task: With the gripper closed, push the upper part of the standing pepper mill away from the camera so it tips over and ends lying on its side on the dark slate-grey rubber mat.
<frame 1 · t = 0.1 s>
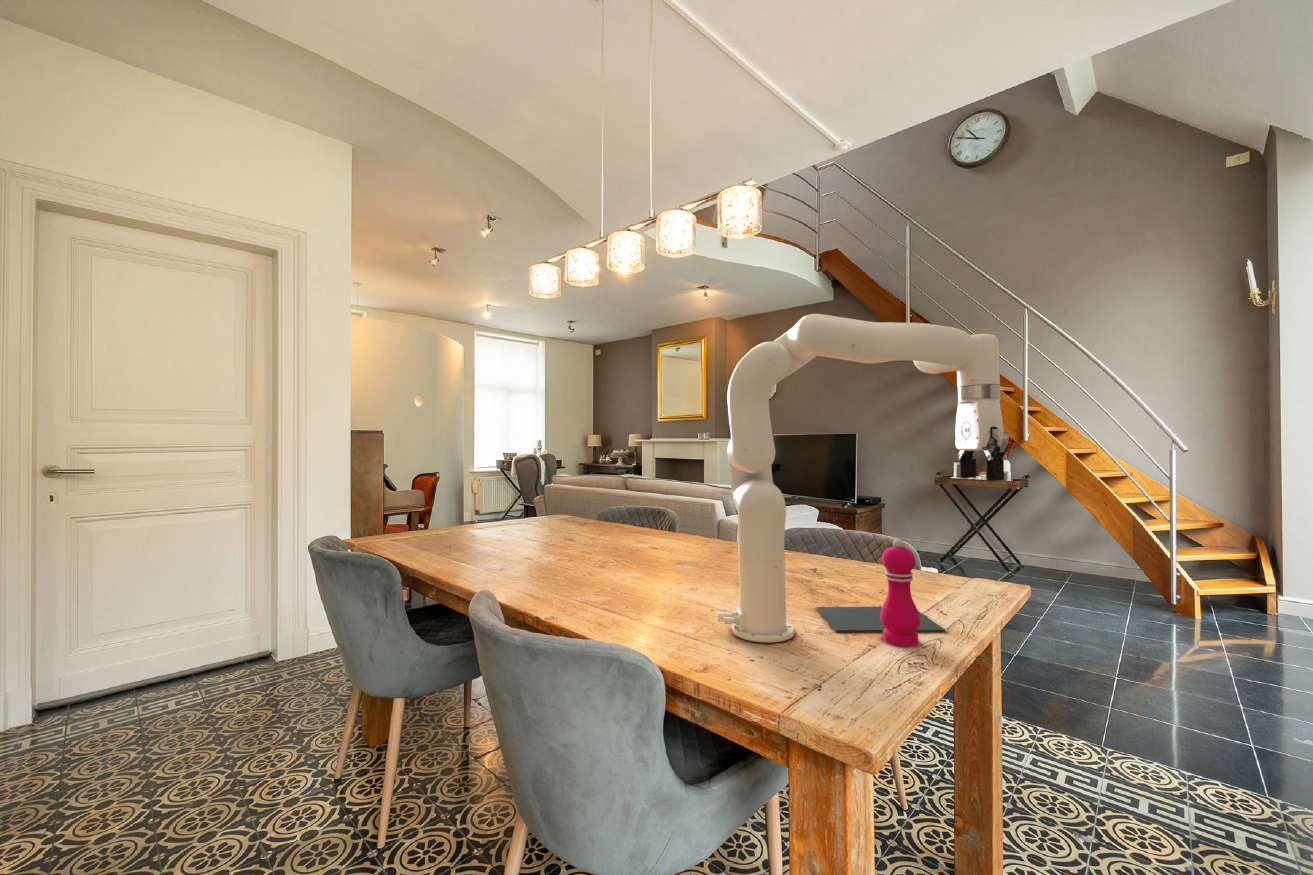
hand: (980, 478, 110), 31 cm above the table, tool pointing down, fingers open, 9 cm apart
mat: (876, 619, 118), on the table
pepper mill: (900, 642, 105), on the table
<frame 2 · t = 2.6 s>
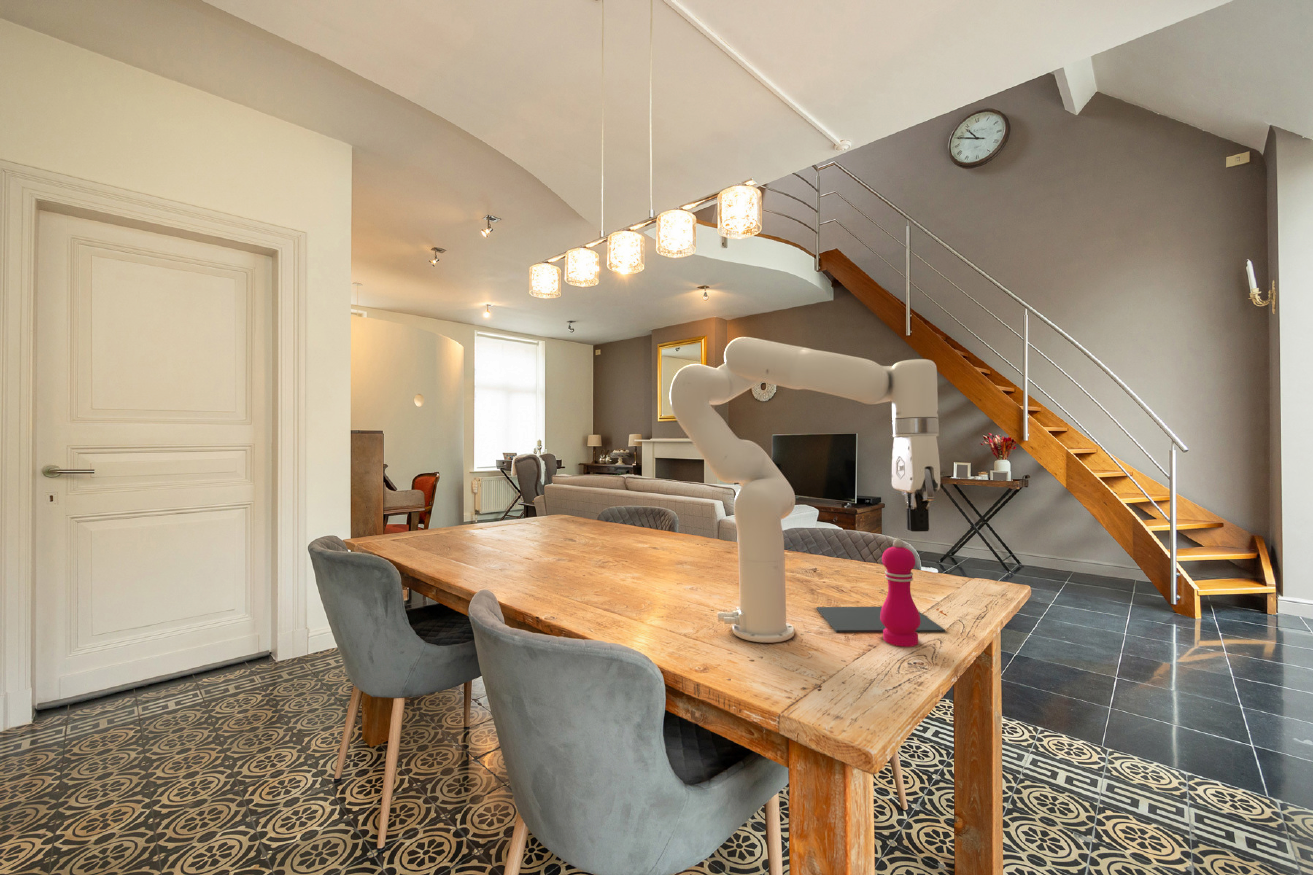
hand: (917, 530, 96), 23 cm above the table, tool pointing down, fingers closed
nothing on the table moved.
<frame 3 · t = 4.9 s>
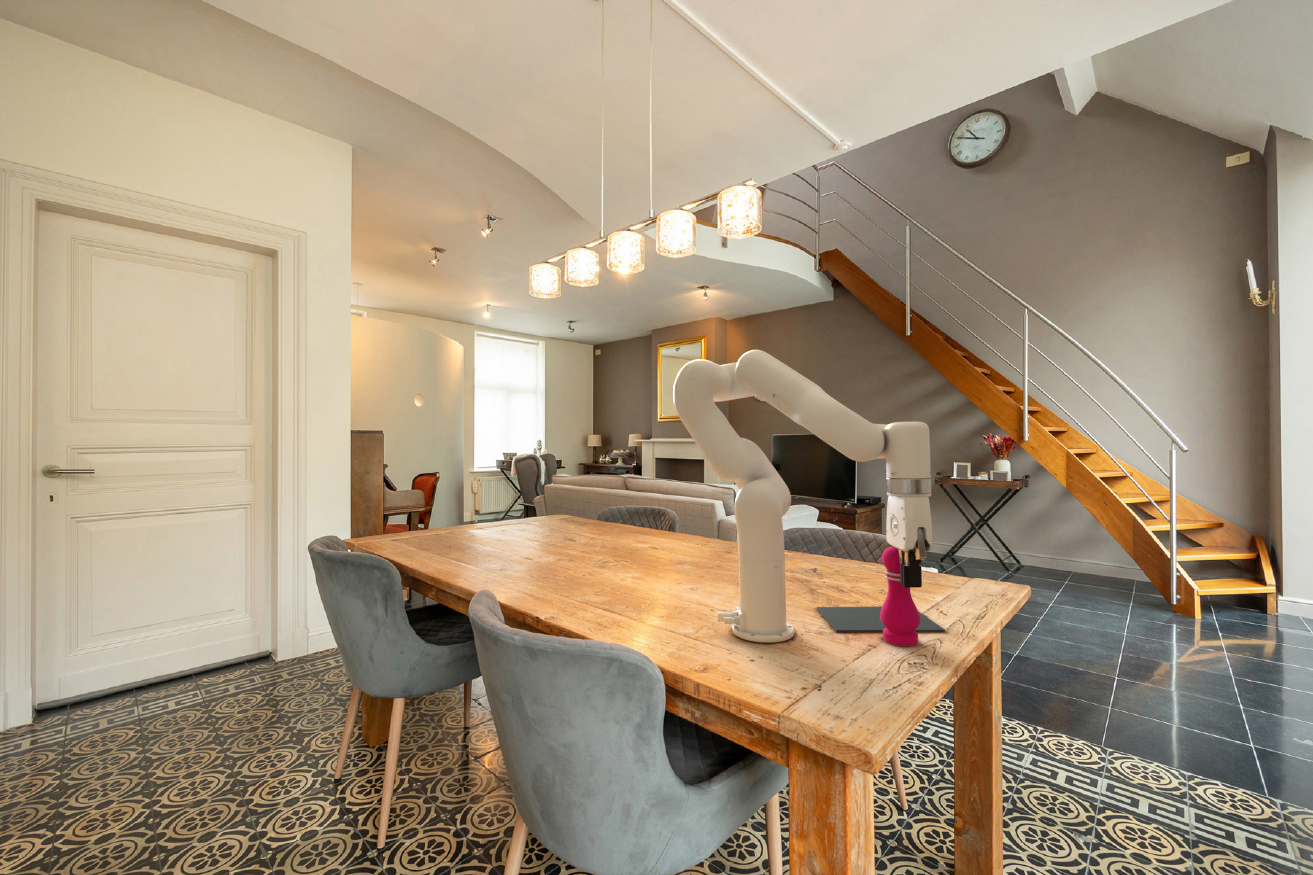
hand: (911, 586, 100), 12 cm above the table, tool pointing down, fingers closed
pepper mill: (900, 641, 105), on the table, touching gripper
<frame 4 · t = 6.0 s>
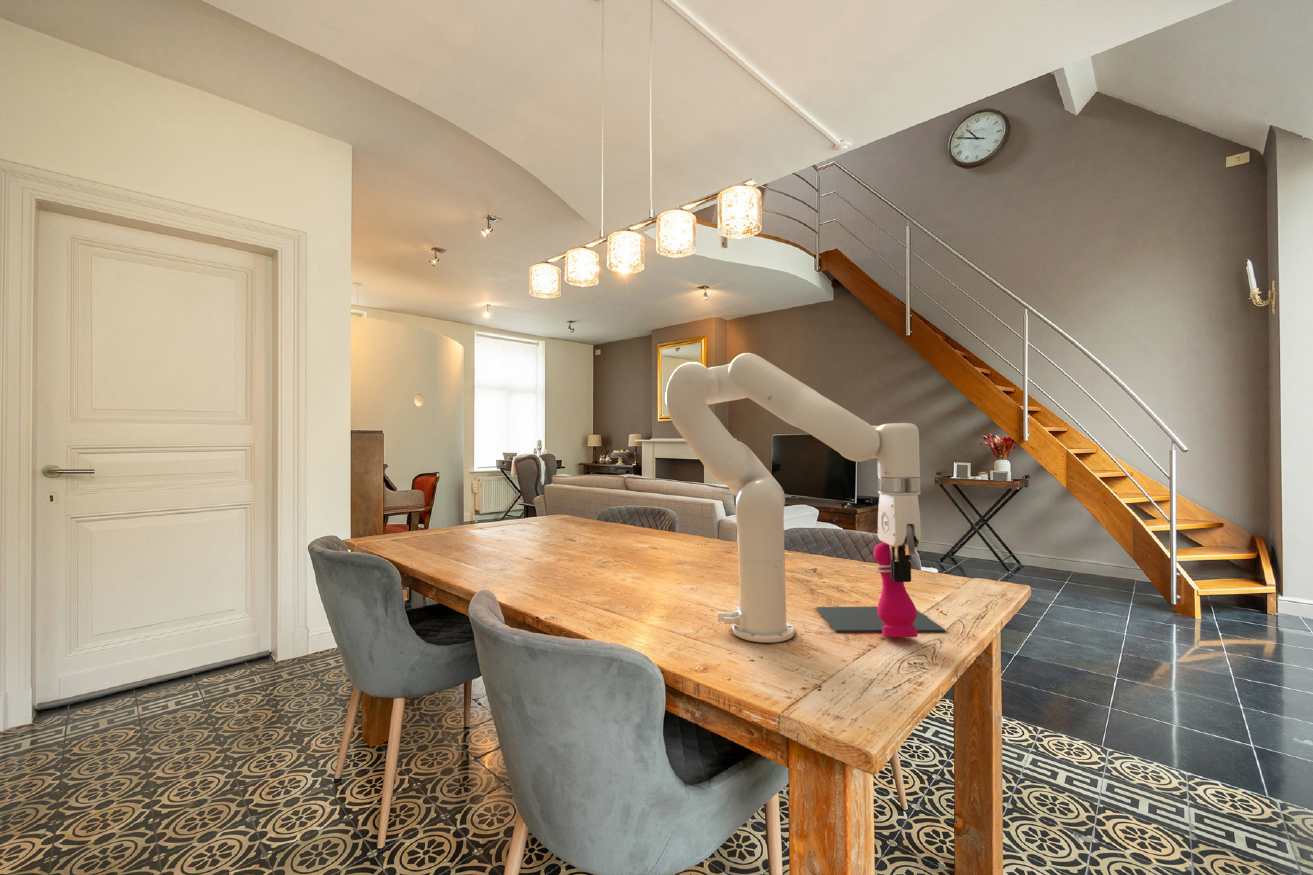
hand: (901, 580, 104), 12 cm above the table, tool pointing down, fingers closed
pepper mill: (900, 637, 105), point 1 cm above the table
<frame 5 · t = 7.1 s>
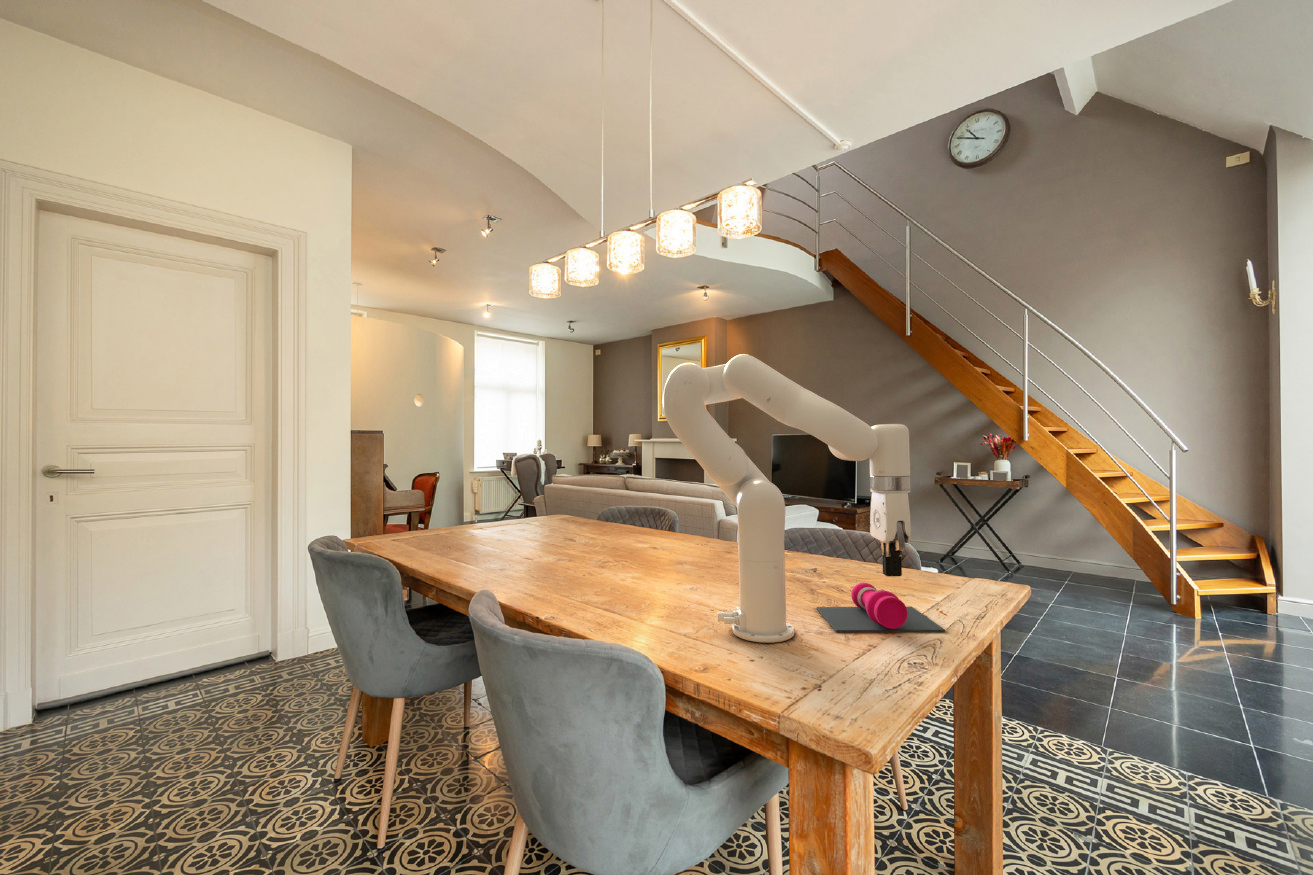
hand: (892, 575, 108), 12 cm above the table, tool pointing down, fingers closed
pepper mill: (892, 613, 108), point 4 cm above the table, touching mat
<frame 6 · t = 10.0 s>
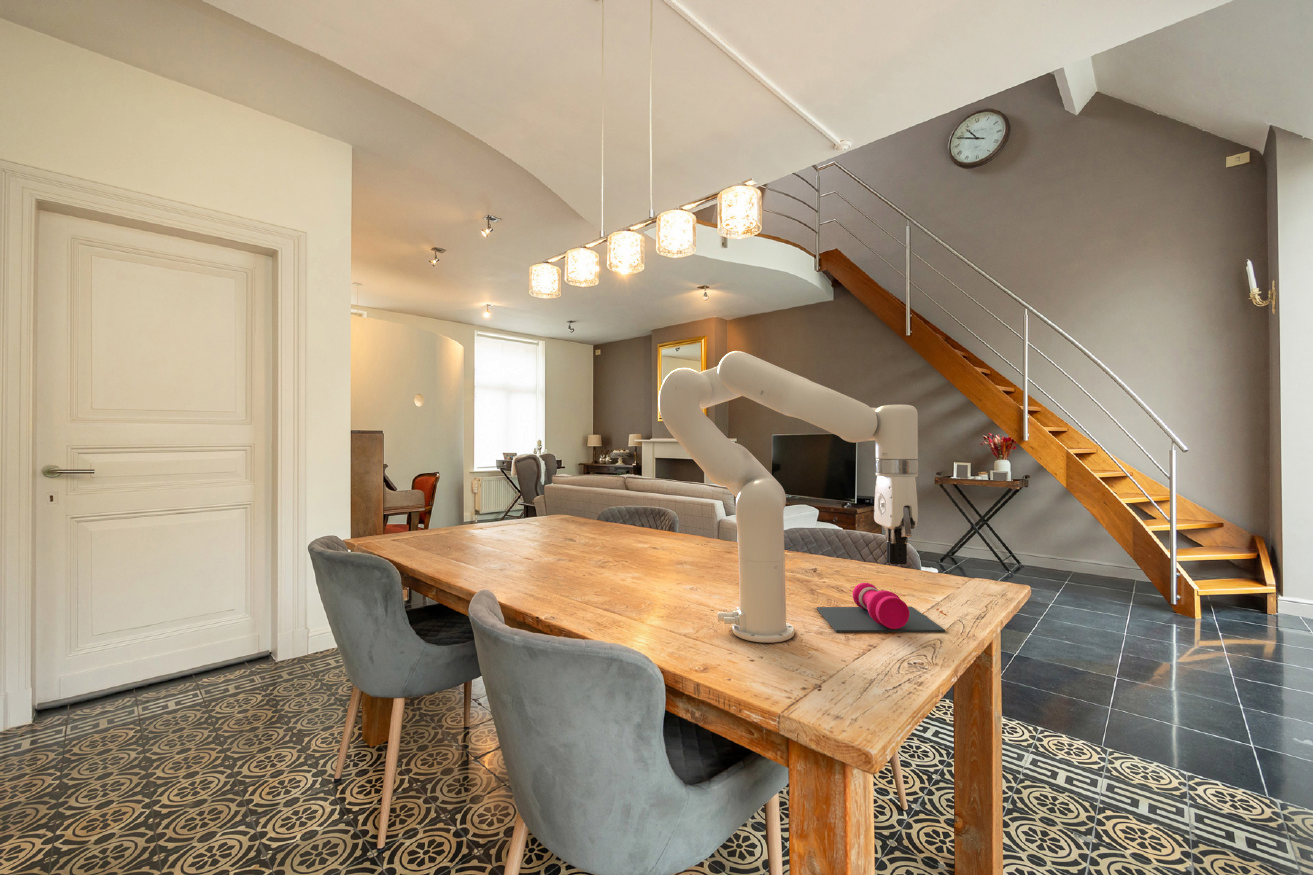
hand: (896, 563, 104), 16 cm above the table, tool pointing down, fingers closed
nothing on the table moved.
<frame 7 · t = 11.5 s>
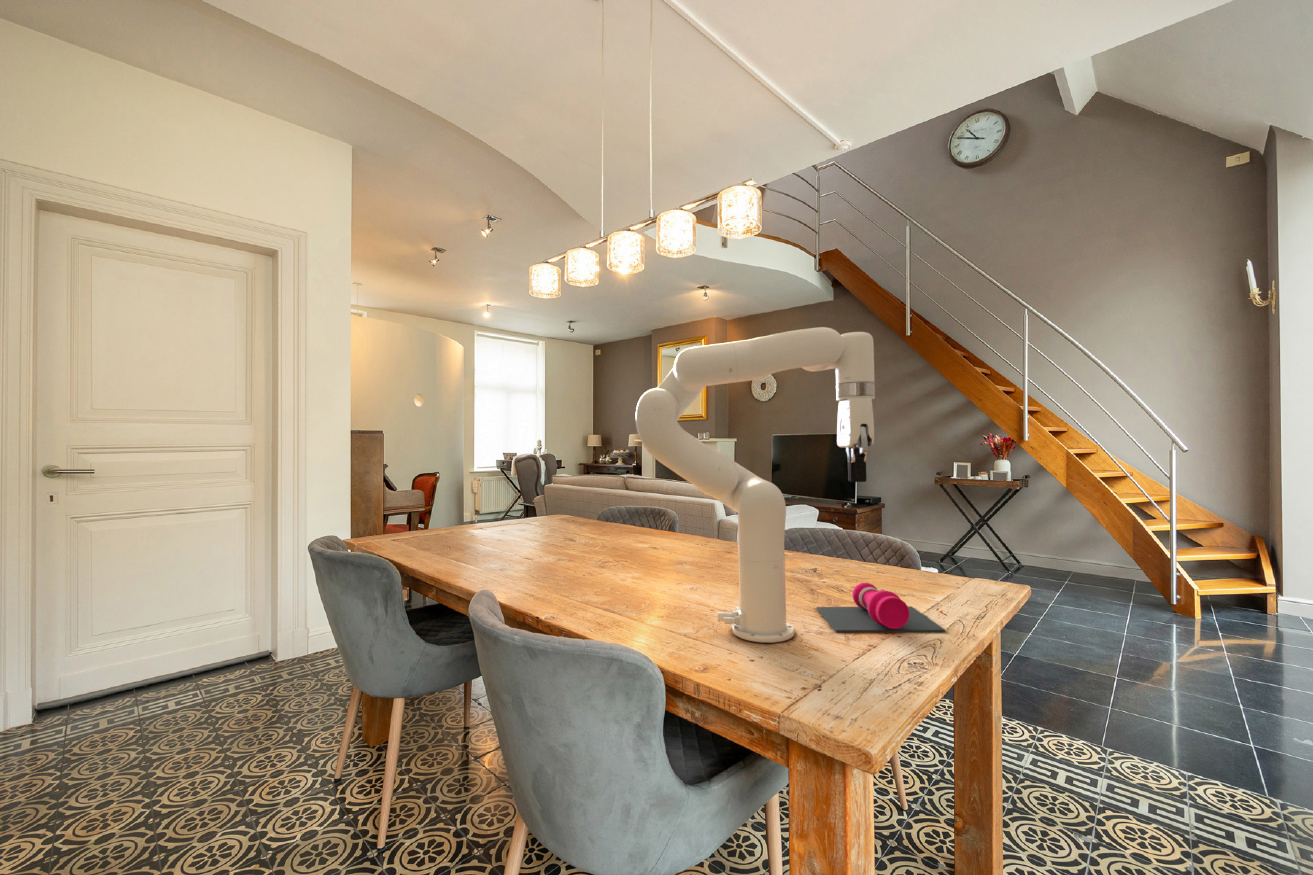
hand: (857, 481, 111), 31 cm above the table, tool pointing down, fingers closed
nothing on the table moved.
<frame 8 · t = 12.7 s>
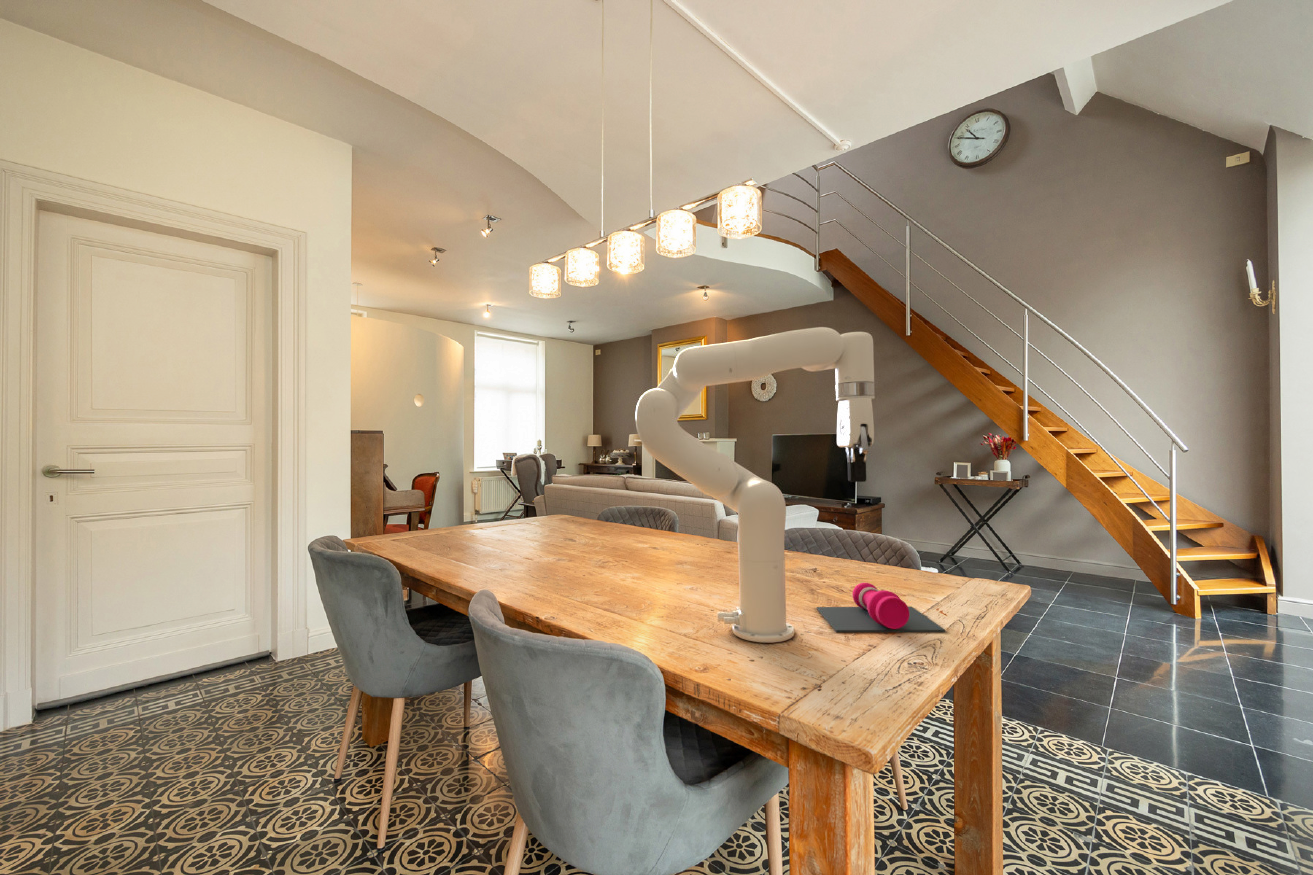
hand: (857, 481, 111), 31 cm above the table, tool pointing down, fingers closed
nothing on the table moved.
at the end: pepper mill tilted 93°; pepper mill touching mat; pepper mill inside the target area (2.2 cm from its centre), point 4.3 cm above the table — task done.
